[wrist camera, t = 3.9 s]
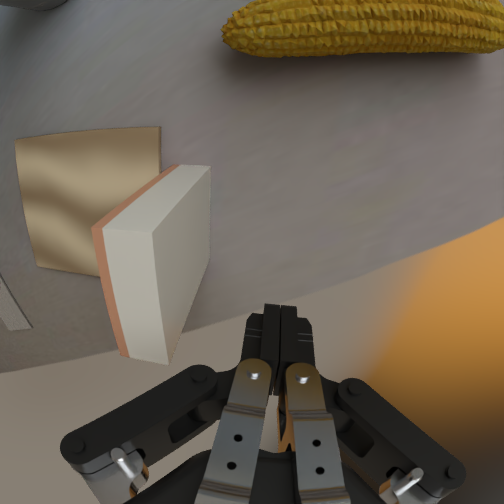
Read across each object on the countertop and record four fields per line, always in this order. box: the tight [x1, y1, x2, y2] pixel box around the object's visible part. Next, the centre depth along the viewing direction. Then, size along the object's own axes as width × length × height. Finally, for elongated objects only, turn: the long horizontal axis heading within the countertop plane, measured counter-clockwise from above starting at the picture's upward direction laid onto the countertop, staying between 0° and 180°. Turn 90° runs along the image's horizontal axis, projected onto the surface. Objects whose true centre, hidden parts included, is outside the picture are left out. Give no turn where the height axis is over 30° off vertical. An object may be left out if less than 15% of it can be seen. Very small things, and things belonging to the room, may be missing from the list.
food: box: [221, 0, 504, 58], centre depth 14 cm, size 21×6×6 cm, turn 106°
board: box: [15, 127, 161, 277], centre depth 25 cm, size 14×16×1 cm
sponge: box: [91, 165, 211, 365], centre depth 19 cm, size 8×3×12 cm, turn 176°
